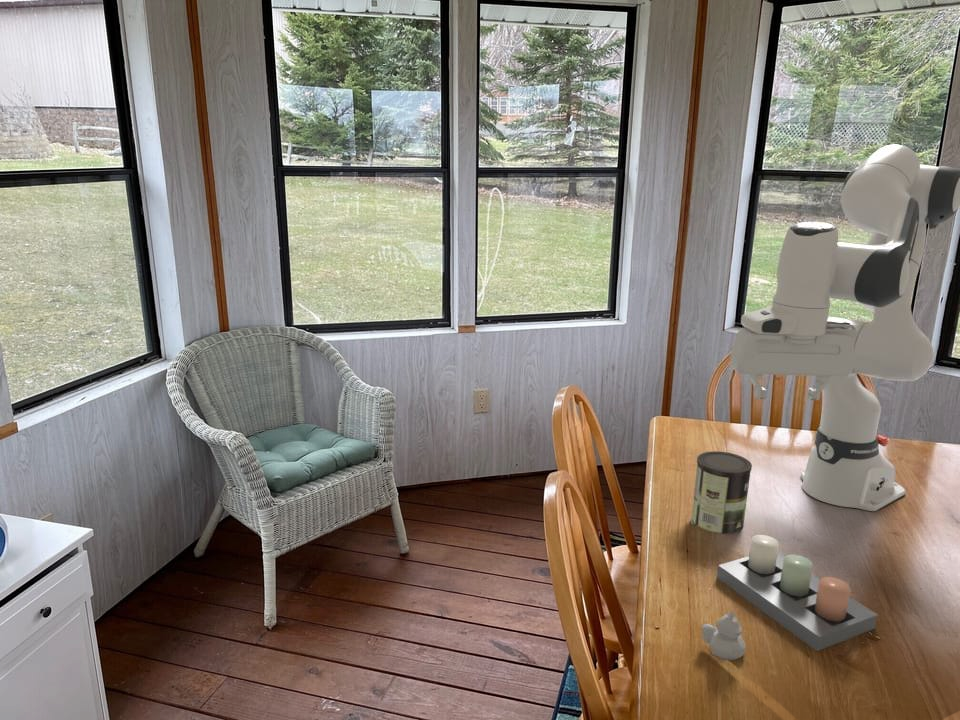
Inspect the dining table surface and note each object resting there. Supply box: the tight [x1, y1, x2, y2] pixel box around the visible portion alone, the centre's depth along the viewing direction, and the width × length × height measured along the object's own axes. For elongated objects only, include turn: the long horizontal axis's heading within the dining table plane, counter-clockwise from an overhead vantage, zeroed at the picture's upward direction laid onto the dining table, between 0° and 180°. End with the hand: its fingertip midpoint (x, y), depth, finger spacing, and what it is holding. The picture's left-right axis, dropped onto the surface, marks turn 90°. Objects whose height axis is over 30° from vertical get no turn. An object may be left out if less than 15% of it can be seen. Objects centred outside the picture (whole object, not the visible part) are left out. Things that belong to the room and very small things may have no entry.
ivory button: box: [748, 534, 780, 574], centre depth 125 cm, size 4×4×5 cm
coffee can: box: [690, 451, 753, 535], centre depth 144 cm, size 10×10×14 cm
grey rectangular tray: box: [716, 551, 879, 652], centre depth 120 cm, size 13×21×4 cm, turn 26°
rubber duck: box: [701, 610, 747, 662], centre depth 108 cm, size 5×7×8 cm
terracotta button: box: [815, 576, 851, 621], centre depth 113 cm, size 4×4×5 cm
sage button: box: [780, 554, 814, 597], centre depth 119 cm, size 4×4×5 cm
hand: (785, 398), depth 125 cm, fingers open, 8 cm apart
